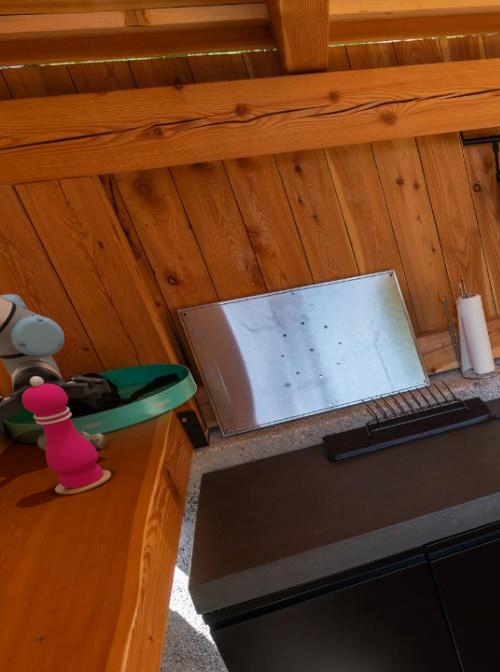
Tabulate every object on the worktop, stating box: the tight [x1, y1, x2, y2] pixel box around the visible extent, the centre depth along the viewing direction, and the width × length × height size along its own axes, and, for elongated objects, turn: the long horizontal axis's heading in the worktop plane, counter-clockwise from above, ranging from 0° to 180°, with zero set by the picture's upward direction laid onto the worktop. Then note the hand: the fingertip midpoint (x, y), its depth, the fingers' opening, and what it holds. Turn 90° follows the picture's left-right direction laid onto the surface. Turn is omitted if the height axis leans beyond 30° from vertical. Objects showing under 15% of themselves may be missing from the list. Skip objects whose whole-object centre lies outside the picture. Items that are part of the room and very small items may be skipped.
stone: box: [37, 430, 106, 452], centre depth 149 cm, size 10×5×8 cm
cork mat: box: [54, 469, 112, 496], centre depth 138 cm, size 8×8×1 cm
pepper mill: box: [22, 376, 103, 488], centre depth 133 cm, size 7×7×20 cm
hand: (45, 414), depth 132 cm, fingers open, 13 cm apart
